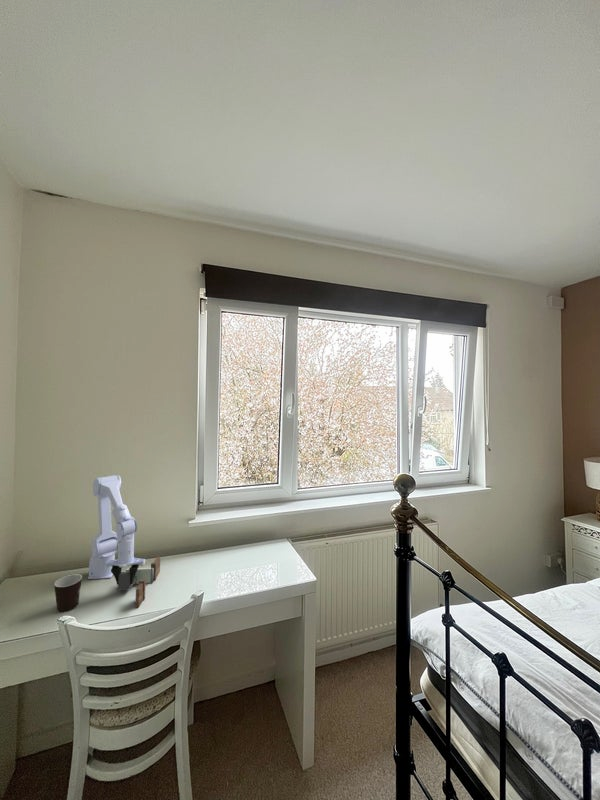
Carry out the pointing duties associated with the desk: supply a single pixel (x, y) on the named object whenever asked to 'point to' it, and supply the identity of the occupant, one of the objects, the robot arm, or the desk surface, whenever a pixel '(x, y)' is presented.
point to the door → (144, 574)
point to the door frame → (141, 587)
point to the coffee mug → (67, 592)
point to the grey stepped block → (125, 581)
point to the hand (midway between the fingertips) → (125, 583)
